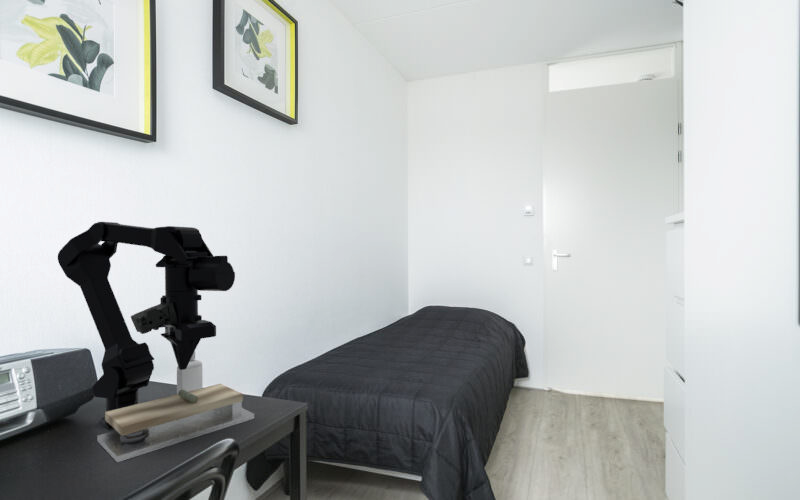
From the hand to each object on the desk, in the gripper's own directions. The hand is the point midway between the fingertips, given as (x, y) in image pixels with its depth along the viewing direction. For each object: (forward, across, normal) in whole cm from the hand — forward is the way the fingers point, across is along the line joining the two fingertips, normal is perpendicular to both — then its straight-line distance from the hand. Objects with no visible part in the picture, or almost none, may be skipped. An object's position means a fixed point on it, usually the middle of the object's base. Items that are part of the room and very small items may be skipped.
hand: (182, 369), depth 86 cm
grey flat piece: (+12, 0, -1) cm, 12 cm away
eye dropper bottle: (+12, -20, +8) cm, 25 cm away
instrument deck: (+8, 0, -1) cm, 8 cm away
